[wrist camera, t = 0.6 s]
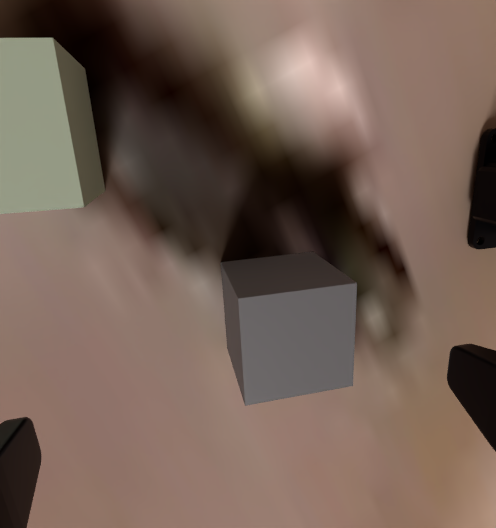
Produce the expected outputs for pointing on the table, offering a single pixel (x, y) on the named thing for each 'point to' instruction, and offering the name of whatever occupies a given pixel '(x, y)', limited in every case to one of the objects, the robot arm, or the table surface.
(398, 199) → the table surface
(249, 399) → the charcoal cube
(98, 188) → the sage cube
